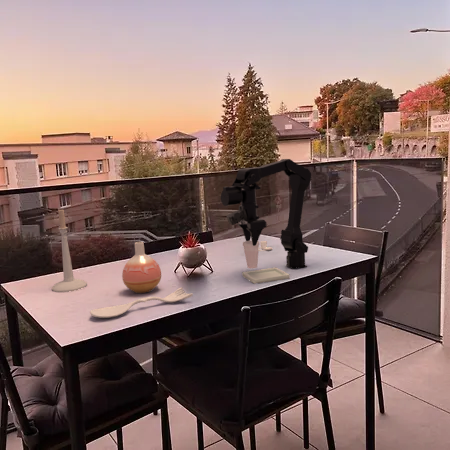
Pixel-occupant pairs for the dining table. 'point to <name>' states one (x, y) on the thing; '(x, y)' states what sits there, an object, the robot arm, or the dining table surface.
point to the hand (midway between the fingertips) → (251, 243)
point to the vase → (141, 271)
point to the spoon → (120, 309)
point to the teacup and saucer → (264, 246)
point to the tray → (265, 275)
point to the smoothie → (251, 253)
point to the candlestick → (66, 263)
